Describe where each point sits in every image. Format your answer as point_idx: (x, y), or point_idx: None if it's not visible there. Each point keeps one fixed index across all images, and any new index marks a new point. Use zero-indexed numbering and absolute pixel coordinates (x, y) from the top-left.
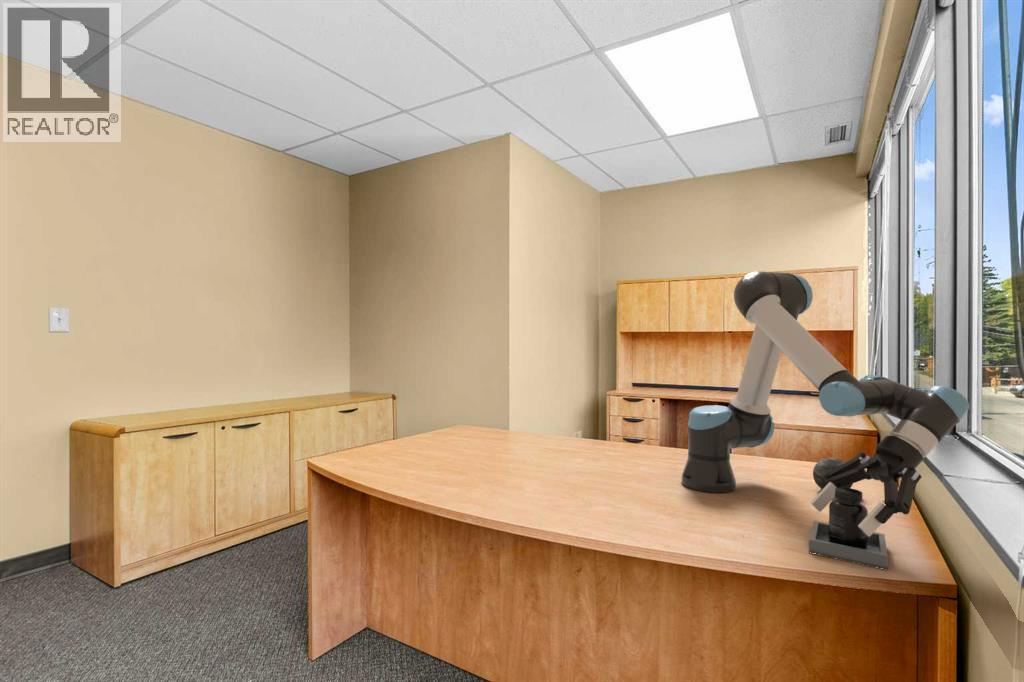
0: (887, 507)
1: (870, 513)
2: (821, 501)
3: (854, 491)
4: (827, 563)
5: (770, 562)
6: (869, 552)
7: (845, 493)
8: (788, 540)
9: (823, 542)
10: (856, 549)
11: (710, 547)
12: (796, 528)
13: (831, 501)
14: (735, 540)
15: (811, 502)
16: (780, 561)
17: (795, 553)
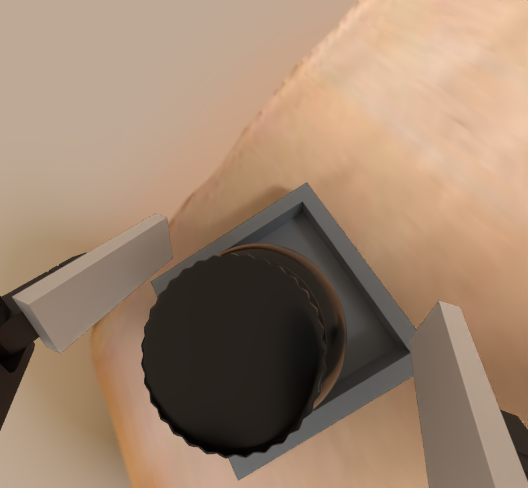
0: (10, 300)
1: (105, 251)
2: (432, 356)
3: (189, 362)
4: (251, 190)
5: (305, 82)
6: (185, 260)
7: (208, 262)
8: (392, 217)
9: (277, 202)
10: (209, 244)
11: (417, 12)
12: (472, 334)
13: (331, 298)
14: (438, 86)
15: (453, 307)
16: (300, 104)
17: (319, 166)
